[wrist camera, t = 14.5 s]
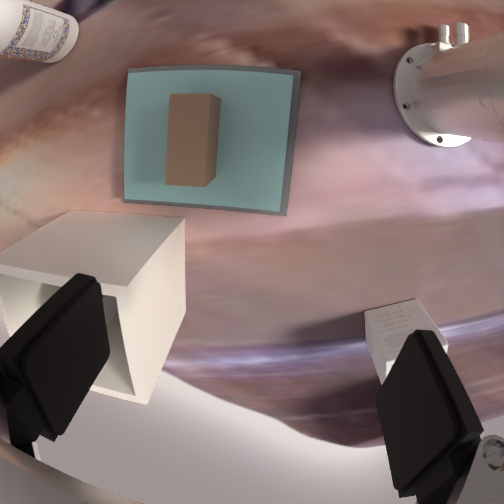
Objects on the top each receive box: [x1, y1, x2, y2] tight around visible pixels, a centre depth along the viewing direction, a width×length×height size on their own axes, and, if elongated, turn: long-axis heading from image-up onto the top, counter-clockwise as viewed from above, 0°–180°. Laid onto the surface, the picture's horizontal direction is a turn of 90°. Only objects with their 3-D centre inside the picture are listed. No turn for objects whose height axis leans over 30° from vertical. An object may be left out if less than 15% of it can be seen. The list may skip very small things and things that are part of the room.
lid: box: [124, 70, 293, 212], centre depth 28 cm, size 14×17×8 cm
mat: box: [124, 65, 301, 216], centre depth 32 cm, size 16×19×1 cm
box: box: [0, 210, 186, 405], centre depth 31 cm, size 13×16×16 cm
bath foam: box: [0, 0, 79, 63], centre depth 18 cm, size 7×7×20 cm
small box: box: [364, 299, 448, 385], centre depth 35 cm, size 8×6×10 cm
